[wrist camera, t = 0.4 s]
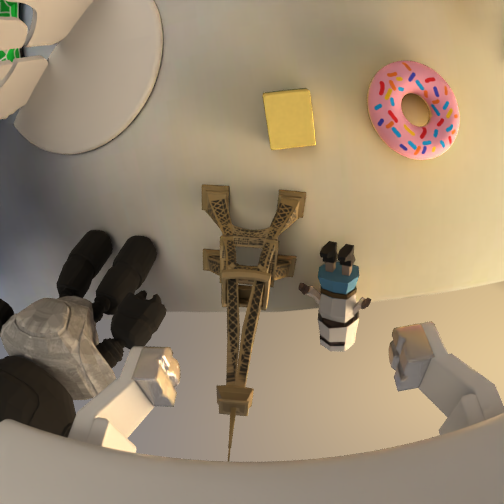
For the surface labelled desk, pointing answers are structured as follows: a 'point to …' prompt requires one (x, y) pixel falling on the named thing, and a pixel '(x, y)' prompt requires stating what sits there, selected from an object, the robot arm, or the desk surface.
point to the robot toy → (75, 334)
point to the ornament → (80, 70)
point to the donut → (393, 120)
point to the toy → (337, 297)
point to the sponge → (289, 118)
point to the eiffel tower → (253, 297)
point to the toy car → (10, 10)
